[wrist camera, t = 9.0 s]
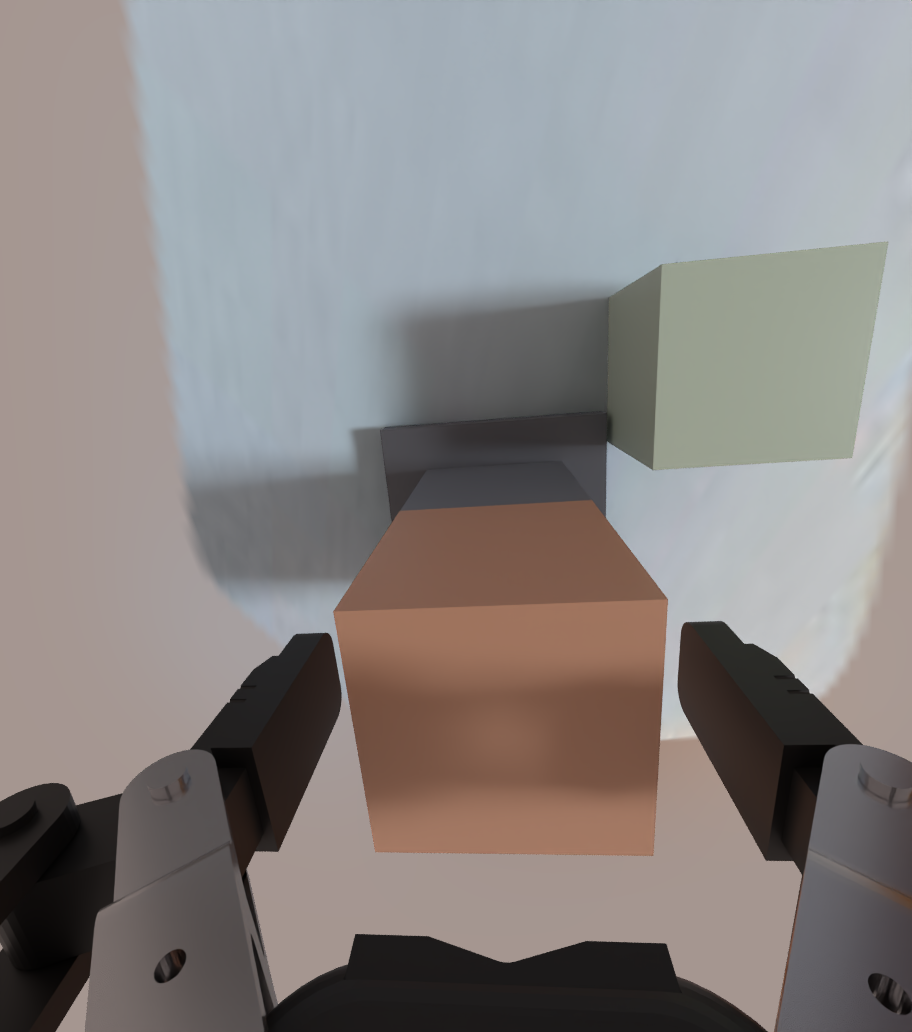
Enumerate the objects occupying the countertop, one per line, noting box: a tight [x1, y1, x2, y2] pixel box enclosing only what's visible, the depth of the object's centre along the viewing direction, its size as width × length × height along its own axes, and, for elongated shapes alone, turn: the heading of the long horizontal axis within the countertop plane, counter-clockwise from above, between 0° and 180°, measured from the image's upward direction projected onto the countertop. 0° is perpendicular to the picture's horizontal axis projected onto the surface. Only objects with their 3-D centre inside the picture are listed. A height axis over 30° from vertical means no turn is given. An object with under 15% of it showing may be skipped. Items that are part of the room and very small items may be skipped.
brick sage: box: [607, 242, 888, 470], centre depth 16 cm, size 6×6×6 cm
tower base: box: [380, 411, 607, 522], centre depth 18 cm, size 9×9×7 cm
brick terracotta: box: [333, 500, 668, 856], centre depth 11 cm, size 6×6×6 cm
